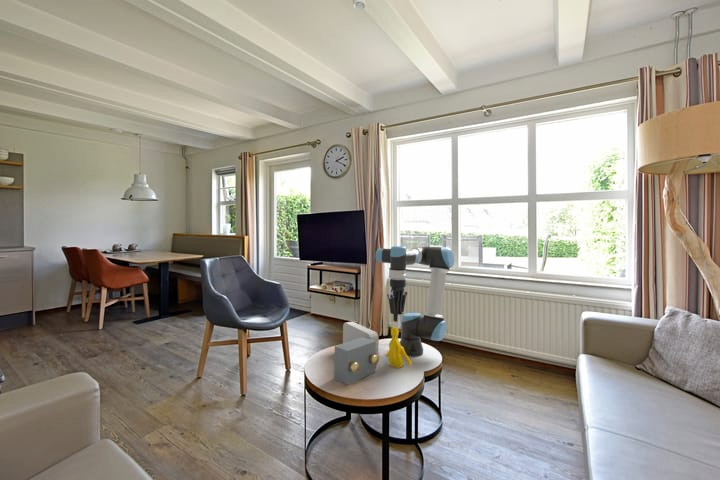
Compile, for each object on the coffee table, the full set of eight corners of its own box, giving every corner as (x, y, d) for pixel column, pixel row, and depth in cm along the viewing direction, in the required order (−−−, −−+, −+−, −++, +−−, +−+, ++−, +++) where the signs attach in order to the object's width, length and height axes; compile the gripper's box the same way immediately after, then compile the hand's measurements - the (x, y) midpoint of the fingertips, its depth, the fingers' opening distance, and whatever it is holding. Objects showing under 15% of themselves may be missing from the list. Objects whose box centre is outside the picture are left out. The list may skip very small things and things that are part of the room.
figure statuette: (414, 369, 171) (415, 327, 170) (405, 373, 165) (406, 330, 165) (388, 359, 183) (388, 320, 183) (379, 363, 178) (379, 323, 177)
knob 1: (346, 365, 159) (346, 356, 159) (359, 371, 153) (360, 362, 153) (340, 368, 156) (340, 359, 156) (353, 374, 150) (353, 364, 150)
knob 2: (366, 358, 170) (366, 349, 169) (379, 363, 163) (379, 354, 163) (360, 360, 166) (360, 351, 166) (373, 365, 160) (373, 356, 160)
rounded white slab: (381, 365, 175) (382, 332, 174) (370, 368, 170) (370, 334, 170) (353, 349, 198) (353, 320, 198) (342, 351, 194) (343, 321, 194)
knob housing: (362, 366, 172) (362, 337, 172) (375, 372, 166) (375, 341, 166) (334, 378, 158) (334, 346, 158) (346, 384, 152) (347, 351, 151)
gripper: (395, 280, 147) (394, 332, 148) (412, 278, 157) (411, 326, 157) (383, 279, 152) (382, 328, 153) (399, 276, 162) (398, 323, 162)
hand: (396, 327), depth 155 cm, fingers closed
